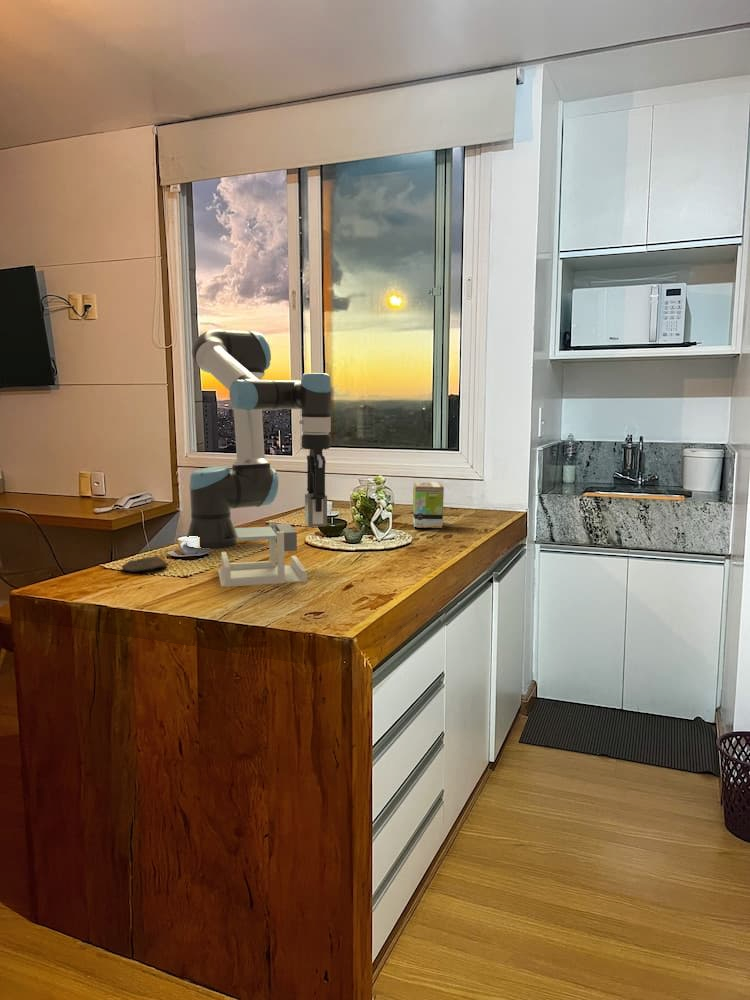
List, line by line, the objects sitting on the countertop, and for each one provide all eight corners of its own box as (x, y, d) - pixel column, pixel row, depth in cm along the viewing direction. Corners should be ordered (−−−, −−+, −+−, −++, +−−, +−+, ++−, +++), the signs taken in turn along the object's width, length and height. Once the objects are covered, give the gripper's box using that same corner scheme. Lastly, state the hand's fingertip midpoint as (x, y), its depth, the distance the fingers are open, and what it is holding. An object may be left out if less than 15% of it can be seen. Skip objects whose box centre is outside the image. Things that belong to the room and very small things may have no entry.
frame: (217, 571, 185) (216, 523, 183) (295, 566, 190) (295, 519, 188) (221, 588, 168) (219, 535, 166) (306, 582, 173) (306, 531, 171)
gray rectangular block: (305, 523, 193) (304, 493, 192) (323, 522, 195) (323, 493, 193) (308, 526, 188) (308, 496, 187) (327, 526, 190) (327, 496, 188)
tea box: (443, 529, 245) (444, 486, 243) (413, 529, 245) (414, 486, 243) (440, 522, 260) (440, 481, 258) (412, 522, 260) (412, 481, 258)
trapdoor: (235, 543, 183) (234, 525, 182) (289, 540, 186) (288, 523, 185) (239, 553, 170) (238, 534, 170) (296, 550, 174) (296, 532, 173)
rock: (129, 574, 178) (128, 564, 178) (117, 569, 188) (116, 559, 188) (173, 568, 184) (172, 557, 184) (160, 563, 194) (159, 553, 194)
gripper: (296, 431, 195) (296, 516, 199) (307, 436, 178) (307, 528, 182) (323, 431, 197) (323, 515, 201) (337, 435, 180) (336, 527, 184)
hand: (315, 521), depth 191 cm, fingers closed on gray rectangular block, 5 cm apart
